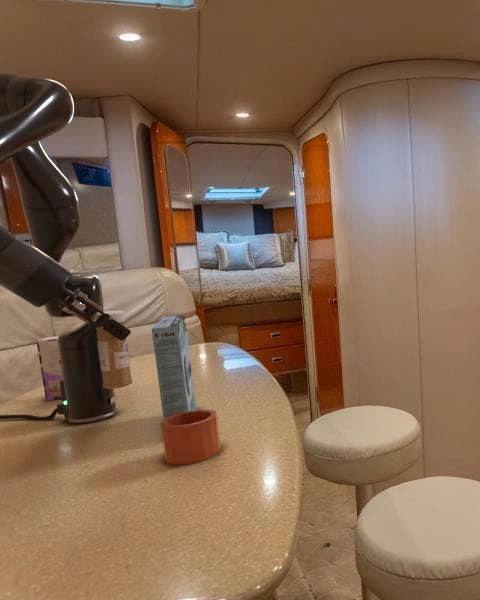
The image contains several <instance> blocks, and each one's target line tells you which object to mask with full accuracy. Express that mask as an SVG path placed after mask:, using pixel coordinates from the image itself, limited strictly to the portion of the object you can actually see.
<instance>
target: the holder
mask: <svg viewBox="0 0 480 600" xmlns="http://www.w3.org/2000/svg"><path fill="white" fill-rule="evenodd" d="M160 429H161V438H162V448H163V454H164V459H165V462H166V463H168V464H170V465H189V464H193V463H198V462H202V461H205V460H207V459H209V458H212V457H215V456H216V455H217V454H218V453H219V452H220V450H221V438H220V437H221V436H220V427H219V419H218V413H217V412H216V410H215V409H208V408H206V409H196V410H192V411H186V412H182V413H178V414H175V415H172V416H169V417H167V418H166V419H162V420H161V422H160Z"/></svg>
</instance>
